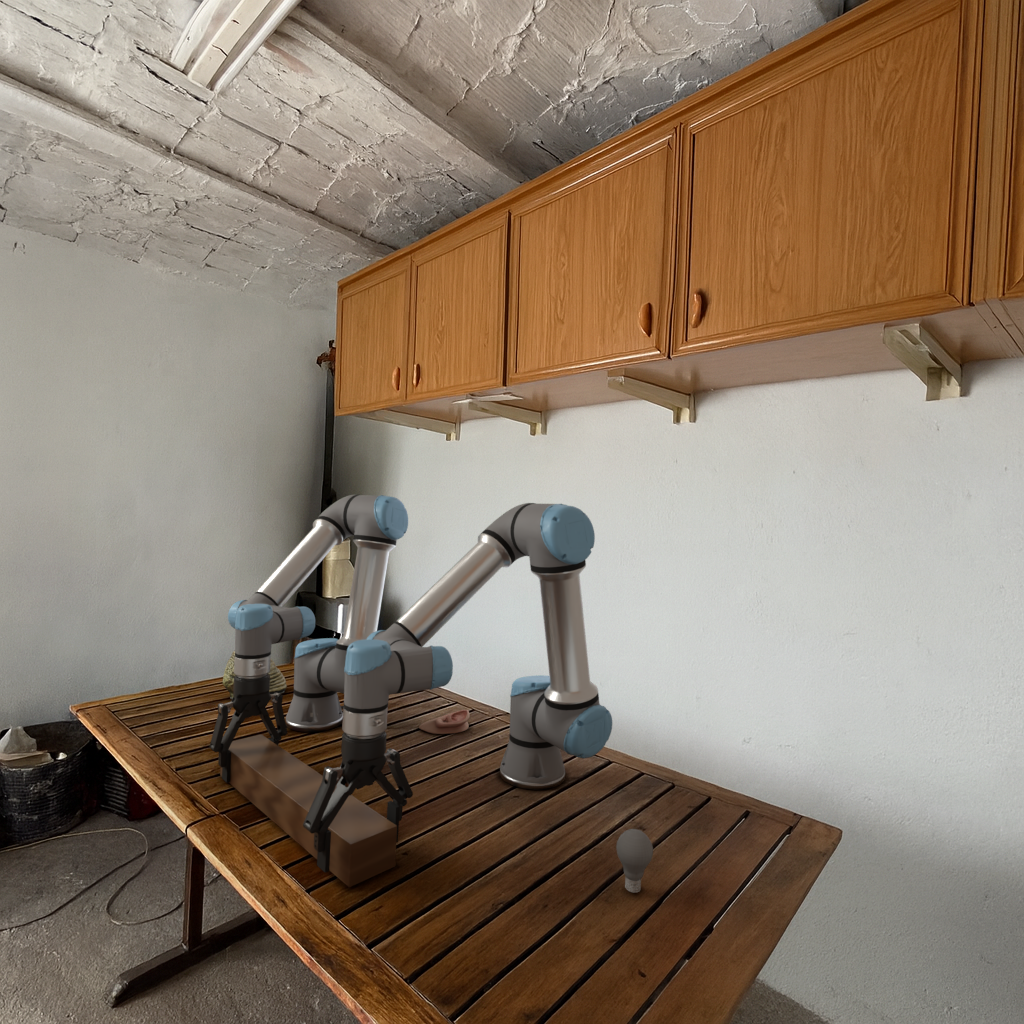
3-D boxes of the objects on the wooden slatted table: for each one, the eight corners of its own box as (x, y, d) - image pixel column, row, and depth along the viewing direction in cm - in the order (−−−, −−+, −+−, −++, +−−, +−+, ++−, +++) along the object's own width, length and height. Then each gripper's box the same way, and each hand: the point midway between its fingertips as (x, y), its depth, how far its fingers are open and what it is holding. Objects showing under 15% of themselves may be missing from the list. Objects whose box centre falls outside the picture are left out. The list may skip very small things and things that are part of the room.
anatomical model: (415, 716, 173) (429, 704, 184) (414, 731, 173) (428, 717, 184) (462, 722, 170) (473, 709, 181) (461, 737, 170) (472, 722, 181)
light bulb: (610, 879, 108) (613, 822, 108) (644, 879, 109) (647, 822, 109) (619, 902, 102) (622, 840, 102) (655, 901, 103) (658, 840, 103)
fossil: (218, 695, 195) (220, 647, 195) (278, 685, 208) (279, 640, 207) (228, 703, 189) (230, 653, 188) (289, 692, 201) (290, 645, 201)
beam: (220, 775, 142) (221, 743, 142) (260, 764, 148) (261, 734, 148) (348, 887, 103) (350, 844, 103) (395, 866, 110) (397, 825, 110)
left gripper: (207, 687, 131) (203, 794, 131) (305, 670, 147) (302, 766, 147) (194, 678, 136) (190, 782, 137) (290, 663, 152) (287, 756, 152)
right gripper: (307, 756, 98) (301, 892, 98) (435, 722, 115) (429, 837, 116) (285, 741, 103) (279, 871, 103) (410, 711, 121) (405, 821, 121)
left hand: (248, 773), depth 142 cm, fingers closed on beam, 9 cm apart
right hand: (359, 853), depth 110 cm, fingers open, 13 cm apart
